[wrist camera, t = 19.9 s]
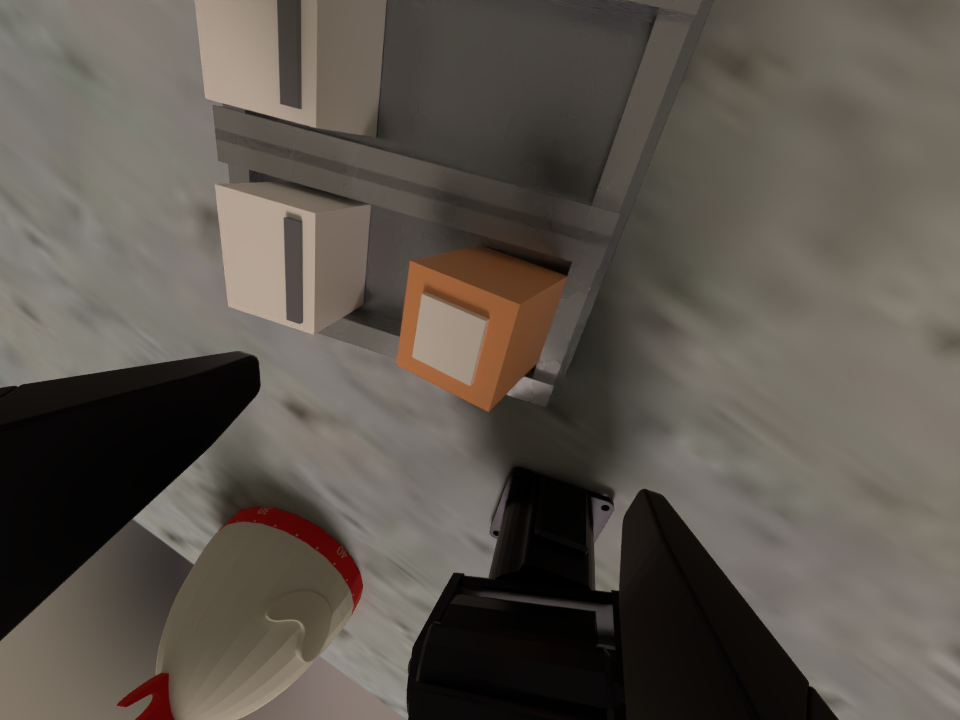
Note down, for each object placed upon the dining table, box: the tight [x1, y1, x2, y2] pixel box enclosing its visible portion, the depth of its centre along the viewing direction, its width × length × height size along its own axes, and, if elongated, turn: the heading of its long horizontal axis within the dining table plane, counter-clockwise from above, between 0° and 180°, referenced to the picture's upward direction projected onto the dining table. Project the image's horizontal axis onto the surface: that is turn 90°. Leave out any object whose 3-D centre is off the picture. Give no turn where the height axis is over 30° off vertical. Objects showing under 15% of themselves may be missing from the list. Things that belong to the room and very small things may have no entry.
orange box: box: [396, 245, 568, 412], centre depth 15 cm, size 4×4×5 cm
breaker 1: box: [195, 0, 387, 137], centre depth 13 cm, size 5×4×4 cm
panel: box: [213, 0, 714, 408], centre depth 15 cm, size 21×18×4 cm
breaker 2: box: [215, 181, 371, 335], centre depth 16 cm, size 5×4×4 cm
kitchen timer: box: [117, 507, 363, 720], centre depth 29 cm, size 14×14×15 cm
